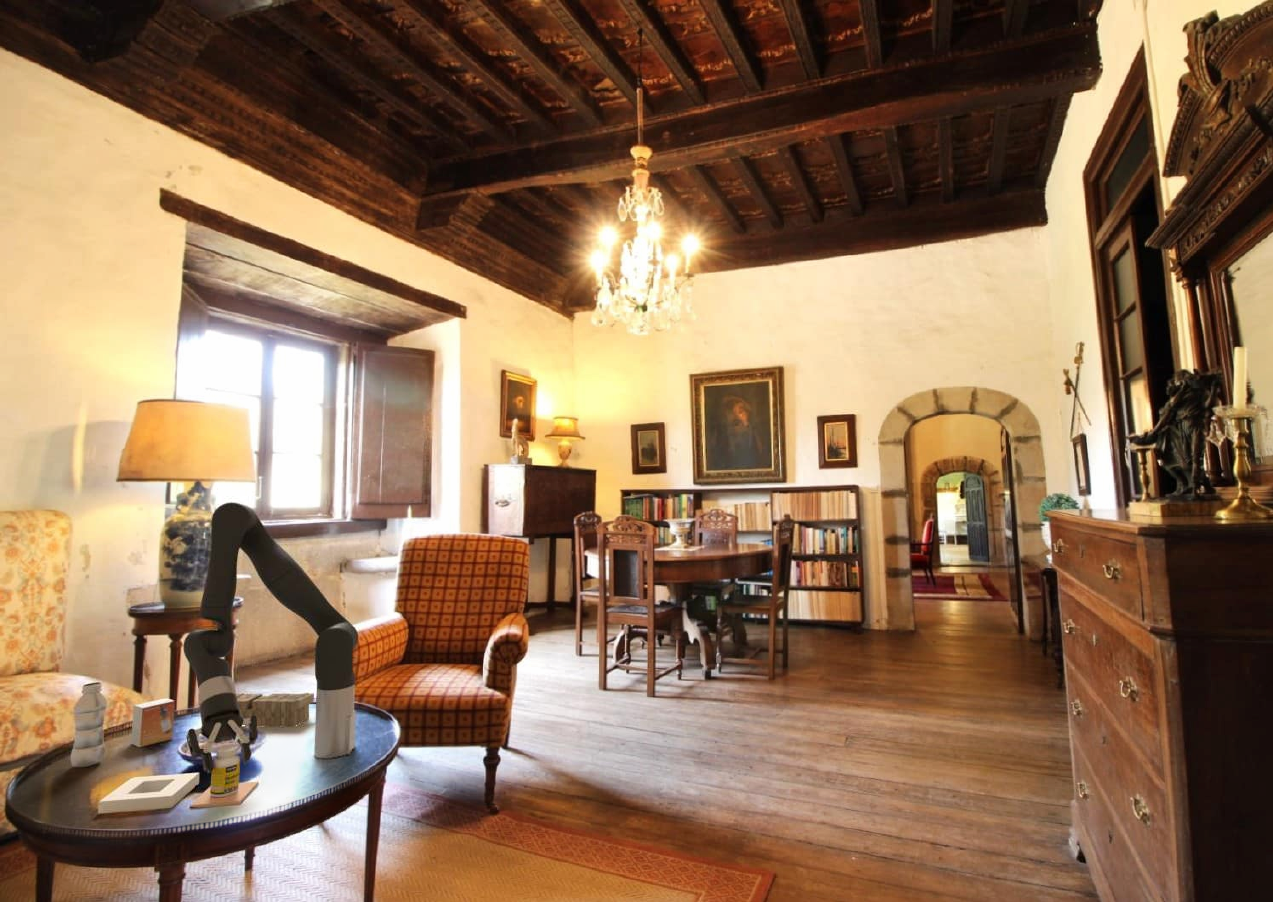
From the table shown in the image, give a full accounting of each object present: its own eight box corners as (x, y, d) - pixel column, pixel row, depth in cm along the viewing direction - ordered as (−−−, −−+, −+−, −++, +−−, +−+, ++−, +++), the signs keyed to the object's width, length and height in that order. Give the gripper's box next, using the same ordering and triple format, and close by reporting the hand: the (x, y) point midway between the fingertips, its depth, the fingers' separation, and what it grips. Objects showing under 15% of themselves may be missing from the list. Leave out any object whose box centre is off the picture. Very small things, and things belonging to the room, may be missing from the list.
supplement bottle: (224, 799, 140) (227, 753, 140) (204, 796, 141) (206, 751, 141) (244, 788, 145) (246, 744, 146) (224, 786, 146) (226, 742, 147)
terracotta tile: (258, 783, 149) (258, 781, 149) (240, 803, 139) (240, 801, 139) (211, 787, 147) (211, 784, 147) (189, 808, 137) (189, 805, 137)
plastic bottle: (106, 764, 160) (111, 683, 161) (70, 773, 155) (76, 689, 156) (102, 757, 164) (107, 679, 166) (67, 765, 159) (73, 684, 161)
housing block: (198, 783, 149) (199, 772, 149) (171, 807, 137) (172, 795, 137) (131, 788, 146) (132, 777, 147) (98, 813, 135) (98, 801, 135)
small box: (139, 748, 171) (141, 708, 171) (130, 744, 174) (132, 704, 174) (173, 738, 177) (175, 700, 178) (164, 734, 180) (166, 697, 181)
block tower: (203, 730, 187) (299, 728, 186) (203, 701, 188) (299, 698, 187) (221, 720, 195) (313, 718, 194) (221, 692, 196) (314, 690, 194)
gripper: (184, 698, 144) (193, 767, 135) (255, 685, 155) (268, 748, 146) (178, 717, 148) (187, 785, 139) (248, 702, 158) (260, 765, 149)
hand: (228, 766), depth 142 cm, fingers open, 6 cm apart
